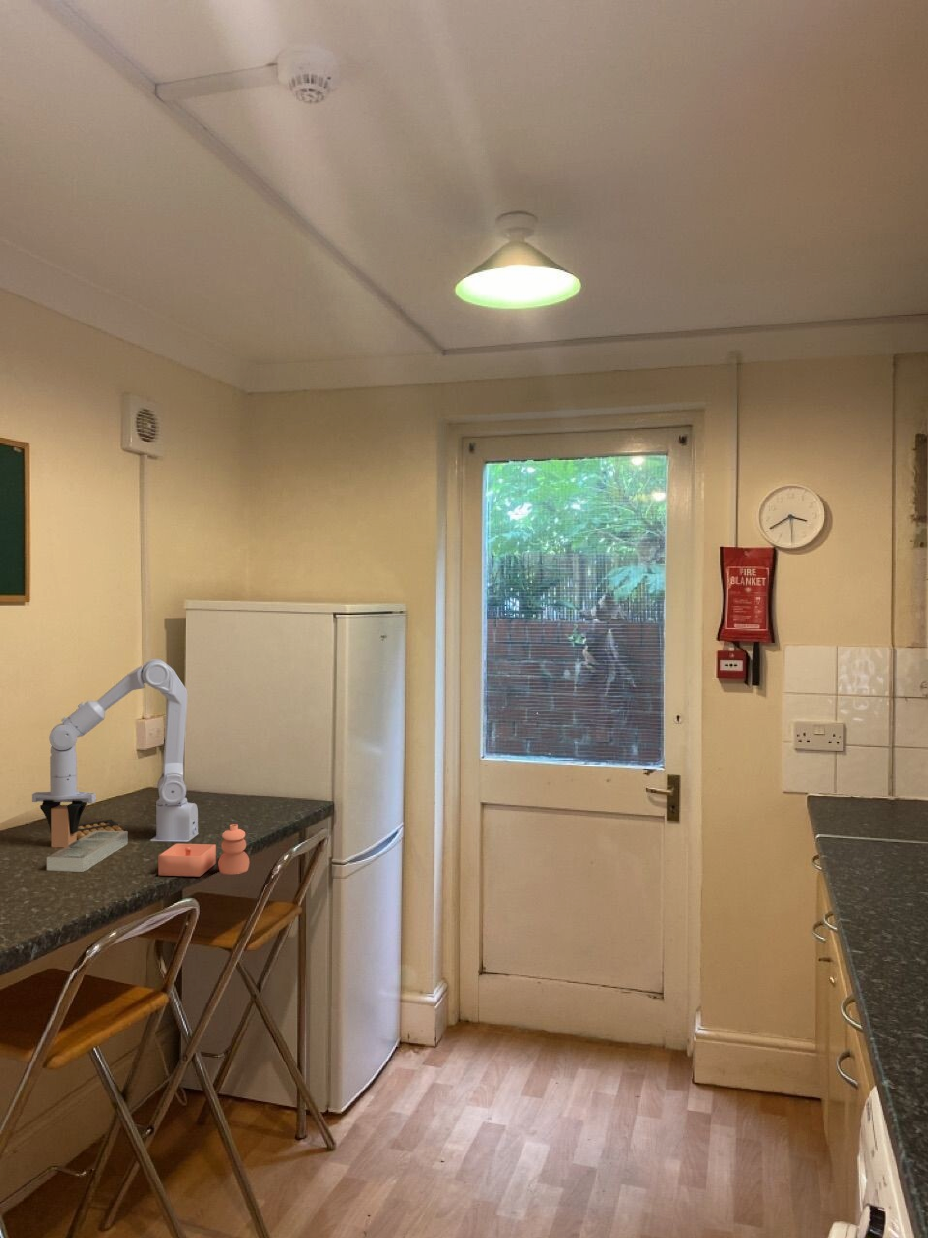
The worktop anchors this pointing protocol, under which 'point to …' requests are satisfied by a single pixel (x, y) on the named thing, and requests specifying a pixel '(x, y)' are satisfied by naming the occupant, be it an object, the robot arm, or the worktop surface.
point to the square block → (61, 827)
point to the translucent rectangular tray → (87, 851)
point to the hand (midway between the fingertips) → (64, 832)
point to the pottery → (206, 856)
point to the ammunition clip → (97, 827)
